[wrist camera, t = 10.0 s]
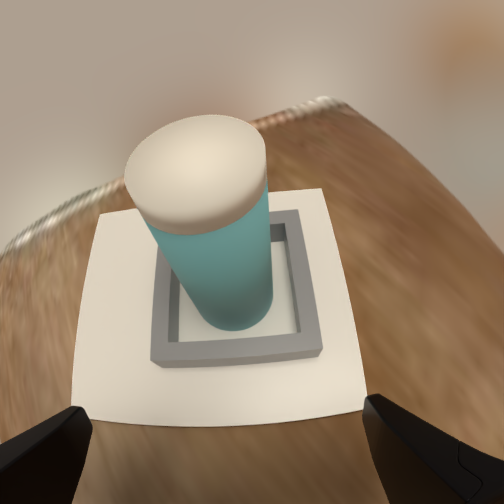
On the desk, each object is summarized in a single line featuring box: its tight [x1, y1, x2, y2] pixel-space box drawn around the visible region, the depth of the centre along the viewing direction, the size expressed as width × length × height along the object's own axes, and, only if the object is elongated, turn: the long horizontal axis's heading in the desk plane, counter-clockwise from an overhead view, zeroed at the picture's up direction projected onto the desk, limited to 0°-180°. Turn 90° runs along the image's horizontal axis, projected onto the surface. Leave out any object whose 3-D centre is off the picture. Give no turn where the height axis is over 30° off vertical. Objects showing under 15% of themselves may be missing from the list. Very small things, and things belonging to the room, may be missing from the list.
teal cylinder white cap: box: [124, 115, 273, 331], centre depth 14 cm, size 5×5×11 cm
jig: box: [71, 189, 367, 427], centre depth 19 cm, size 16×18×3 cm
